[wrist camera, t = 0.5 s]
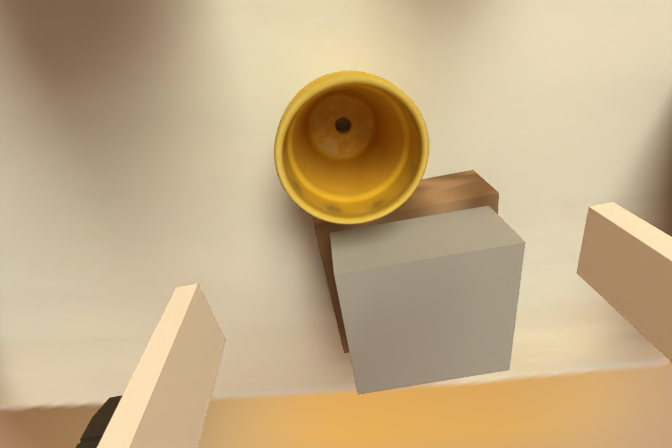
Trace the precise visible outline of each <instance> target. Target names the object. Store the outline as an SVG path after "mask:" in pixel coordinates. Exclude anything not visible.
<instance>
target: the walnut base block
mask: <svg viewBox="0 0 672 448" xmlns="http://www.w3.org/2000/svg"><path fill="white" fill-rule="evenodd" d="M498 199H499V193H498V192H497V191H496V190H495V189H494V188H493V187H492V186H491V185H489V184H488V183H487V182H486V181H485V180H484V179H483V178H482V177H480V176H479V175H478V174H477V173H476V172H475V171H474V170H470V171H465V172H459V173H454V174H449V175H444V176H438V177H433V178H428V179H422V180H421V181H420V183H419V185H418V186H417V188H416V190H415V191H414V192H413V194H412V195H411V196H410V197H409V198H408V200H407V201H405V202H404V203H403V204H402V205H401V206H400V207H398V208H397V209H396V210H394V211H393V212H391V213H389V214H388V215H386V216H384V217H382V218H379V219H377V220H374V221H370V222H366V223H361V224H336V223H331V222H327V221H323V220H321V219H318V218H316V217H314V223H315V231H316V235H317V239H318V244H319V248H320V252H321V256H322V260H323V265H324V269H325V273H326V277H327V281H328V286H329V290H330V294H331V298H332V303H333V307H334V311H335V315H336V319H337V324H338V328H339V332H340V336H341V340H342V345H343V349H344V353H347V352H349V347H348V342H347V337H346V332H345V327H344V322H343V317H342V312H341V307H340V302H339V297H338V292H337V287H336V282H335V277H334V269H333V260H332V250H331V240H330V233H331V232H337V231H343V230H348V229H354V228H360V227H366V226H372V225H378V224H384V223H390V222H395V221H401V220H407V219H413V218H419V217H425V216H431V215H437V214H442V213H448V212H454V211H460V210H466V209H472V208H478V207H484V206H490V207H491V208H492V209H493V210H494V211H495V212H496V213H497V214H498Z"/></svg>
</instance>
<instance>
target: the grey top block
mask: <svg viewBox="0 0 672 448" xmlns="http://www.w3.org/2000/svg"><path fill="white" fill-rule="evenodd" d="M330 240H331V250H332V260H333V269H334V277H335V282H336V287H337V292H338V297H339V302H340V307H341V312H342V317H343V322H344V327H345V332H346V337H347V342H348V347H349V352H350V357H351V362H352V367H353V372H354V377H355V382H356V387H357V392H358V394H364V393H370V392H376V391H383V390H389V389H395V388H401V387H407V386H413V385H420V384H426V383H432V382H438V381H444V380H450V379H457V378H463V377H469V376H475V375H481V374H487V373H493V372H500V371H506V370H509V368H510V360H511V352H512V344H513V336H514V328H515V320H516V312H517V304H518V296H519V288H520V280H521V271H522V263H523V255H524V247H525V242H524V241H523V240H522V239H521V238H520V237H519V236H518V235H517V234H516V233H515V232H514V230H513V229H512V228H511V227H510V226H509V225H508V224H507V223H506V222H505V221H504V220H503V219H502V218H501V217H500V216H499V215H498V214H497V213H496V212H495V211H494V210H493V209H492V208H491V207H490V206H484V207H478V208H472V209H466V210H460V211H454V212H448V213H442V214H437V215H431V216H425V217H419V218H413V219H407V220H401V221H395V222H390V223H384V224H378V225H372V226H366V227H360V228H354V229H348V230H343V231H337V232H331V233H330Z"/></svg>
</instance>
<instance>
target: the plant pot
mask: <svg viewBox="0 0 672 448" xmlns="http://www.w3.org/2000/svg"><path fill="white" fill-rule="evenodd" d="M340 118H347V119H348V120H349V121H350V126H349V128H348V129H347V130H346V131H340V130H338V129H337V128H336V122H337V120H338V119H340ZM428 155H429V139H428V132H427V128H426V124H425V121H424V119H423V117H422V115H421V113H420V111H419V109H418V108H417V106H416V105H415V104H414V102H413V101H412V100H411V99H410V98H409V97H408V96H407V95H406V94H405V93H404V92H403V91H402V90H400V89H399V88H398V87H396V86H395V85H393V84H392V83H390V82H388V81H386V80H385V79H382V78H380V77H378V76H375V75H373V74H369V73H365V72H359V71H340V72H335V73H330V74H327V75H324V76H322V77H320V78H318V79H316V80H314V81H312V82H310V83H309V84H308V85H306V86H305V87H304V88H303V89H301V90H300V91H299V92H298V93H297V94H296V95H295V97H294V98H293V99H292V100H291V102H290V103H289V105H288V106H287V108H286V110H285V112H284V114H283V116H282V118H281V121H280V124H279V127H278V130H277V134H276V139H275V146H274V158H275V166H276V170H277V174H278V177H279V179H280V182H281V184H282V186H283V188H284V189H285V191H286V193H287V194H288V195H289V197H290V198H291V199H292V200H293V201H294V202H295V203H296V204H297V205H298V206H299V207H300V208H301V209H303V210H304V211H305V212H307V213H309V214H310V215H312V216H314V217H316V218H318V219H321V220H323V221H327V222H331V223H336V224H361V223H366V222H370V221H374V220H377V219H379V218H382V217H384V216H386V215H388V214H389V213H391V212H393V211H394V210H396V209H397V208H398V207H400V206H401V205H402V204H403V203H404V202H405V201H407V200H408V198H409V197H410V196H411V195H412V194H413V192H414V191H415V190H416V188H417V186H418V185H419V183H420V181H421V179H422V177H423V174H424V172H425V169H426V165H427V161H428Z"/></svg>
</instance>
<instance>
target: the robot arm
mask: <svg viewBox="0 0 672 448" xmlns="http://www.w3.org/2000/svg"><path fill="white" fill-rule="evenodd" d="M577 274H578V275H579V276H580V277H581V278H583V279H584V280H585V281H586V282H587V283H588V284H589V285H590V286H591V287H592V288H593V289H594V290H595V291H596V292H598V293H599V294H600V295H601V296H602V297H603V298H604V299H605V300H606V301H607V302H608V303H609V304H610V305H611V306H613V307H614V308H615V309H616V310H617V311H618V312H619V313H620V314H621V315H622V316H623V317H624V318H625V319H626V320H627V321H629V322H630V323H631V324H632V325H633V326H634V327H635V328H636V329H637V330H638V331H639V332H640V333H641V334H642V335H644V336H645V337H646V338H647V339H648V340H649V341H650V342H651V343H652V344H653V345H654V346H655V347H656V348H657V349H659V350H660V351H661V352H662V353H663V354H664V355H665V356H666V357H667V358H668V359H669V360H670V361H671V362H672V237H671V236H669V235H668V234H666V233H664V232H663V231H661V230H659V229H658V228H656V227H654V226H652V225H651V224H649V223H647V222H646V221H644V220H642V219H641V218H639V217H637V216H636V215H634V214H632V213H630V212H629V211H627V210H625V209H624V208H622V207H620V206H619V205H617V204H615V203H614V202H610V203H605V204H599V205H594V206H589V209H588V214H587V219H586V225H585V230H584V236H583V241H582V247H581V252H580V257H579V263H578V268H577ZM225 341H226V339H225V337H224V335H223V333H222V331H221V329H220V327H219V325H218V323H217V321H216V319H215V317H214V315H213V313H212V311H211V308H210V306H209V304H208V302H207V300H206V298H205V296H204V294H203V292H202V290H201V288H200V286H199V284H198V283H196V284H191V285H186V286H181V287H176V289H175V291H174V293H173V295H172V297H171V299H170V301H169V303H168V305H167V307H166V309H165V311H164V313H163V315H162V317H161V319H160V321H159V323H158V325H157V327H156V329H155V331H154V333H153V335H152V337H151V339H150V341H149V343H148V345H147V347H146V349H145V351H144V354H143V356H142V358H141V360H140V362H139V364H138V366H137V368H136V370H135V372H134V374H133V376H132V378H131V380H130V382H129V384H128V386H127V388H126V390H125V392H124V394H123V395H122V396H117V397H111V398H109V399H108V400H107V401H106V402H105V404H104V405H103V406H102V407H101V408H100V409H99V410H98V412H97V413H96V414H95V415H94V416H93V417H92V419H91V421H90V422H89V424H88V426H87V428H86V430H85V432H84V434H83V435H82V437H81V439H80V440H81V442H80V444H78V445H77V446H76V448H198V445H199V441H200V437H201V434H202V430H203V426H204V422H205V418H206V414H207V410H208V406H209V403H210V399H211V395H212V391H213V387H214V383H215V379H216V375H217V372H218V368H219V364H220V360H221V356H222V352H223V348H224V344H225Z"/></svg>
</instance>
